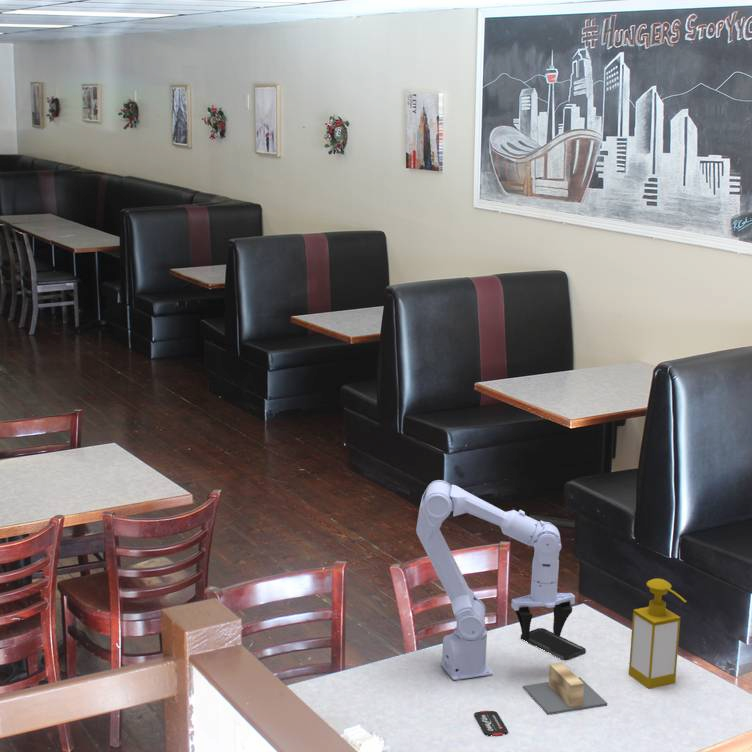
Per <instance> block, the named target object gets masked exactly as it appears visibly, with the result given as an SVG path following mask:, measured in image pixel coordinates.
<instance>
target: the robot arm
mask: <svg viewBox="0 0 752 752" xmlns="http://www.w3.org/2000/svg"><path fill="white" fill-rule="evenodd" d="M423 492H424V493H423V494H422V496H421V501H420V505H419V510H418V516H417V520H416V521H417V523H416V528H415V531H416V532H415V533H416V535H417V537H418V540H419V541H420V543H421V545H422V547H423V550H424V551H425V553H426V555H427V557H428V559H429V561H430V562H431V565H432V567H433V569H434V571H435V573H436V575H437V577H438V579H439V580H440V583H441V585H442V587H443V589H444V590H445V591H444V592H445V593H446V595H447V596H448V599H449V601H450V605H451V609H452V612H453V613H452V614H453V616H454V617H455V620H456V627H455V628H454V631H453V632H452V633H450V634H447V635H445V636H443V639H442V650H441V651H442V653H441V654H442V655H441V656H442V657H441V663H440V666H441V667H442V668H443V669H444V671H445V672H446V674H447V675H449V677H450V678H451V679H452V680H453V681H458V680H466V679H472V678H479V677H487V676H491V675H493V672H492V670H491V669H490V668H489V667H488V666H487V663H486V662H487V661H486V660H487V639H488V638H487V637H488V635H487V634H488V630H487V629H486V622H485V621H486V614H487V609H486V605H485V603H484V602H483V601H482V600H481V599H479V598H478V597H477V596H476V595H475V592H474V591H473V590H472V589H471V588H470V587H469V586H468V584H467V582H466V579H465V578H464V576H463V575H464V574H463V573H462V572H461V570H460V567H459V566H458V564H457V562H456V561H457V560H456V559H455V558H454V557H455V556H454V555H453V554H452V551H451V549H450V548H449V545H448V543H447V542H446V540H445V537H444V535H443V534H442V531H441V529H440V528H441V526H442V524H443V522H444V521H445V520H446V519H447V518H448V517H449V516H450V515H451V512H453V513H452V514H453V515H452V517H457V516H460V515H464V514H469V515H472V516H475V518H476V517H477V518H479V519H481V520H484V521H487V522H488V523H491V524H493V525H496V526H499V528H500V530H501V532H502V534H503V535H505V536H507V537H509V538H512V539H514V540H516V541H518V542H520V543H522V544H523V545H524V544H525V545H526V546H527V547H528V546H529V547H533V548H534V550H533V551H534V552H533V553H534V554H533V557H532V563H531V566H532V567H531V582H530V583H531V584H530V594H527V595H523V596H521V597H516V598H512V599H511V609H512V610H514V612H515V614H516V616H517V618H518V619H517V620H518V623H519V626H520V631H521V634H522V637H523V638H524V639H525V640H529V636H530V631H531V623H532V619H533V613H532V612H531V611H530V609H531V608H538V607H540V608H541V607H545V608H547V609H550V608H553V609H552V610H553V623H552V624H553V625H552V630H553V631H552V633H554V634H555V635H557V636H561V634H562V631H563V629H564V626H565V623H566V622H567V620H568V618H569V616H570V615H571V614H572V613H573V607H572V606H571V605H575V604H576V603H575V602H576V596H575V595H574V594H573V593H572V592H558V583H559V582H558V581H559V569H560V568H559V567H560V565H559V564H560V560H559V557H560V551H561V550H562V542H561V534H560V531H559V529H558V527H557V526H556V525H554V524H552V522H550V521H549V522H548V521H543V520H540V521H538V520H536V519H535V518H532V517H530V516H527V515H526V512H525V511H523V510H522V509H519V510H518V511H517V510H516V509H512V510H508V511H504V510H502V509H501V508H499V507H497V506H495V505H493V504H491V503H490V502H488V501H485V500H484V499H481V498H479V497H478V496H476V495H474V494H472V493H470V492H468V491H466V490H464V488H461V487H459V486H458V485H455V484H450V483H449V482H447V481H445V480H443V479H441V480H440V479H437V480H433V481H431V483H429V484H428V486H427V487H426V489H425V490H424V491H423Z"/></svg>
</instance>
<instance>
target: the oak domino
mask: <svg viewBox="0 0 752 752" xmlns="http://www.w3.org/2000/svg"><path fill="white" fill-rule="evenodd" d="M547 682H548V685H549V686H550V687H551V688H552V689H553V690H554V691H555V693H556V694H557V695H558V696H559V697H560V698H561V699H562V700H563V701H564V702H565V703H566V704H567V705H568V706H569V707H575V706H582V705H583V693H584V683H583V682H582V681H581V680H580V679H579V678H578V676H577V675H576V674H575V673H574V672H573V671H571V670H570V669H569V668H568V666H566V664H564V663H563V662H562V661H560V662H555V663H549V667H548V681H547Z"/></svg>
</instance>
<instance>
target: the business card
mask: <svg viewBox="0 0 752 752" xmlns="http://www.w3.org/2000/svg"><path fill="white" fill-rule="evenodd" d="M473 716H474V719H475V721H476V722H477V724H478V726H479V728H480V727H481V728H480V729H481V731H482V733H483V734H485V735H484V736H486V735H488V736H487V737H494V736H495V737H503V736H505V735H506V734H507V733H508V734H509V730H508V728H507V727H506V725H505V723H504V721H503V719H502V717H501V716H500V715H499V712H497V711H495V710H481V711H476V712H474V714H473ZM503 734H505V735H503ZM508 734H507V735H508ZM491 735H492V736H491Z"/></svg>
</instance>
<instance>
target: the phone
mask: <svg viewBox="0 0 752 752" xmlns="http://www.w3.org/2000/svg"><path fill="white" fill-rule="evenodd" d="M522 639H523V640H525V639H524V638H523V637H522V633H521V634H520V640H522ZM523 640H522V641H523ZM525 641H527V642H528V643H527V642H526V643H527V644H529V643H531V644H532V645H531V644H530V645H531V646H533V645H535V646H537V647H539V648H541V649H543V650H545V651H547V652H549V653H551V654H552V655H551V654H550V655H551V656H553V655H554V657H555V656H556V657H555V658H557V657H558V658H557V659H559V658H560V659H559V660H561V661H564V660H565V662H566V660H567V661H570V660H572V659H575V658H578V657H580V656H583V655H585V654H586V651H587V649H586V648H585V647H583V646H582V645H579V644H577V643H575V642H573V641H571V640H569V639H567V638H565V637H562V636H561V635H560V636H557V635H555V634H554V633H553V631H550V630H548V629H546V628H543V627H539V628H538V627H537V628H535V629H532V630H530V636H529V640H525ZM525 641H524V642H525ZM535 646H534V647H535ZM537 647H536V648H537ZM539 648H538V649H539ZM541 649H540V650H541ZM543 650H542V651H543ZM545 651H544V652H545ZM547 652H546V653H547ZM549 653H548V654H549Z"/></svg>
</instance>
